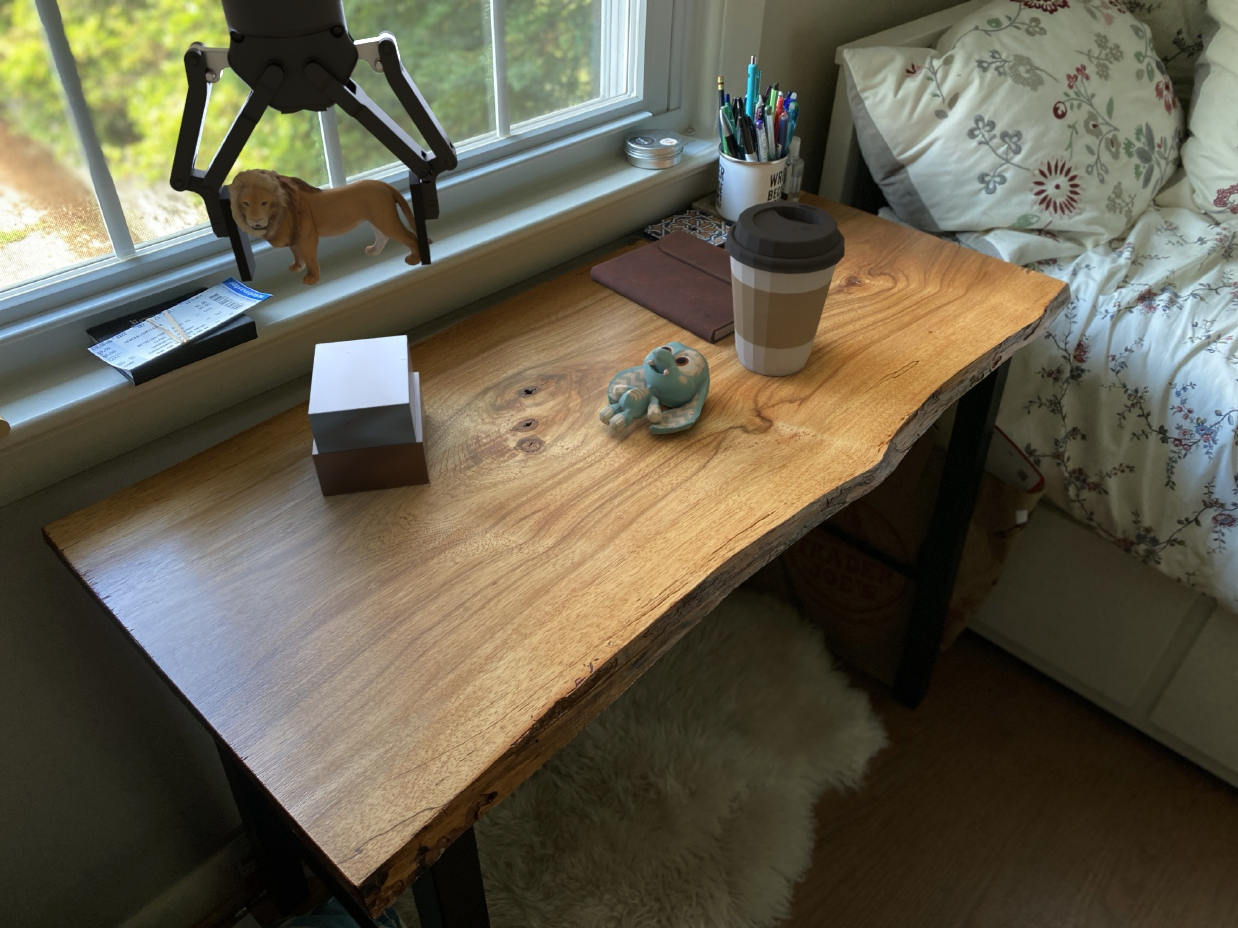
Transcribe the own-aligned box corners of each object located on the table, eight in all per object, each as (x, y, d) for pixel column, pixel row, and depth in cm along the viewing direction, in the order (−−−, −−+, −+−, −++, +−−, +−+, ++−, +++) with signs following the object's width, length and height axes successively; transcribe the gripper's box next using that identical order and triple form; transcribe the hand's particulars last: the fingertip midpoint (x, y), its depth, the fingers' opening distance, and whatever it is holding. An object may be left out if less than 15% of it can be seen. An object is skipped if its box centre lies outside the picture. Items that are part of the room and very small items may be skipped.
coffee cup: (847, 353, 97) (871, 216, 88) (790, 401, 90) (809, 259, 81) (755, 319, 103) (768, 187, 93) (694, 362, 96) (702, 224, 86)
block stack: (322, 496, 79) (301, 415, 74) (328, 422, 88) (309, 344, 82) (429, 483, 81) (415, 402, 75) (425, 411, 89) (412, 334, 84)
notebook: (710, 345, 98) (712, 328, 97) (590, 280, 110) (590, 264, 109) (802, 298, 106) (805, 283, 105) (681, 242, 118) (681, 227, 116)
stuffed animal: (562, 364, 85) (659, 302, 90) (576, 421, 90) (667, 359, 95) (638, 416, 79) (738, 346, 83) (649, 474, 84) (743, 405, 88)
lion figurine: (262, 306, 69) (232, 188, 63) (242, 278, 72) (212, 163, 66) (446, 259, 75) (433, 148, 69) (419, 235, 78) (405, 128, 73)
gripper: (465, -59, 64) (493, 231, 77) (81, -43, 60) (179, 258, 74) (473, -38, 58) (502, 272, 72) (49, -18, 55) (162, 304, 68)
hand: (338, 265), depth 73 cm, fingers closed on lion figurine, 13 cm apart
